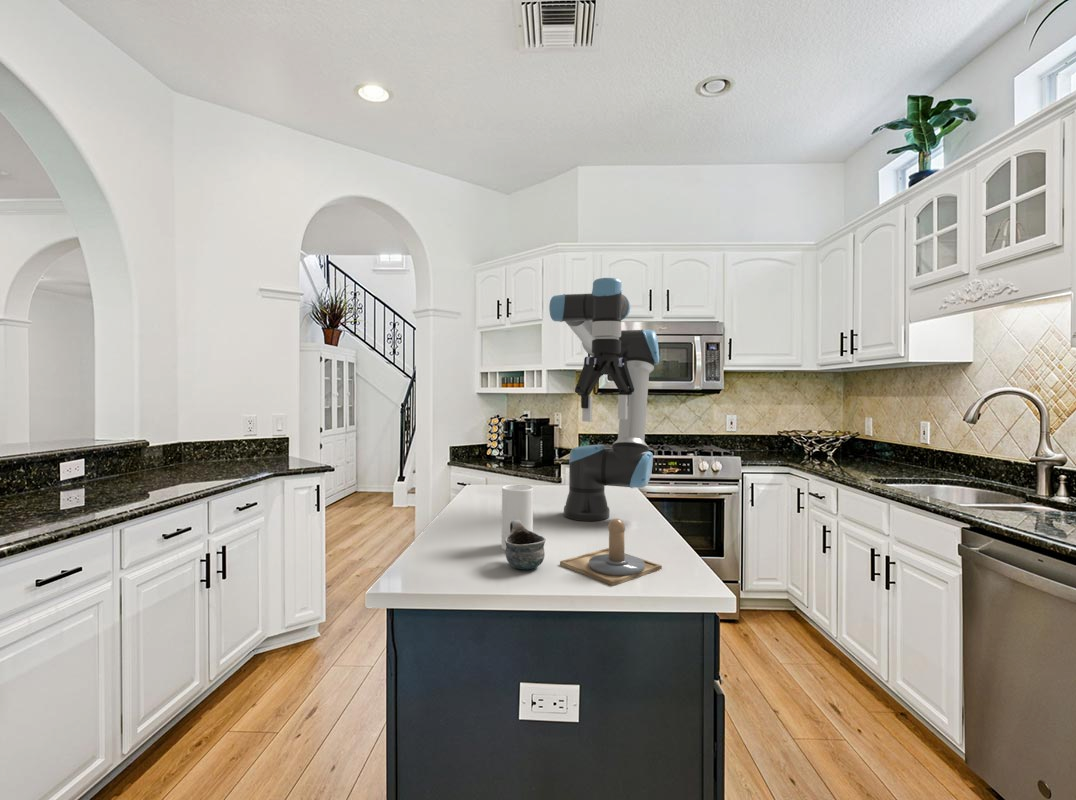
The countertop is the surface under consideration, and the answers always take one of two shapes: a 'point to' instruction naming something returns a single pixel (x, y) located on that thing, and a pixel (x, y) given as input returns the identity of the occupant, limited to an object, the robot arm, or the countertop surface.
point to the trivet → (583, 567)
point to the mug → (524, 547)
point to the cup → (516, 508)
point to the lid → (616, 555)
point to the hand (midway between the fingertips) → (605, 420)
